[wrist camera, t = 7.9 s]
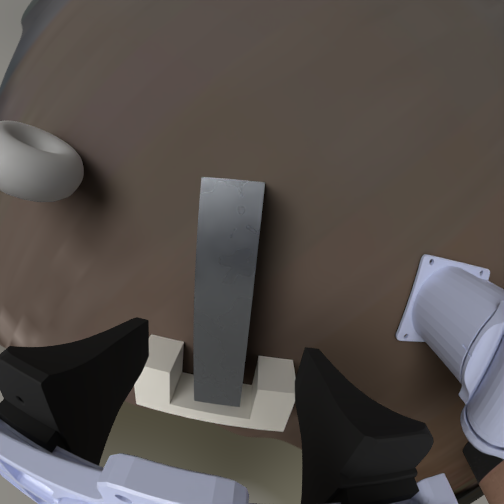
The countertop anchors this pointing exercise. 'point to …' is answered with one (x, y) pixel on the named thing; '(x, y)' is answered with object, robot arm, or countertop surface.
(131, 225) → the countertop surface
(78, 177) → the donut
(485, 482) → the travel mug
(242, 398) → the cream u-shaped cradle
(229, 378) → the rail
